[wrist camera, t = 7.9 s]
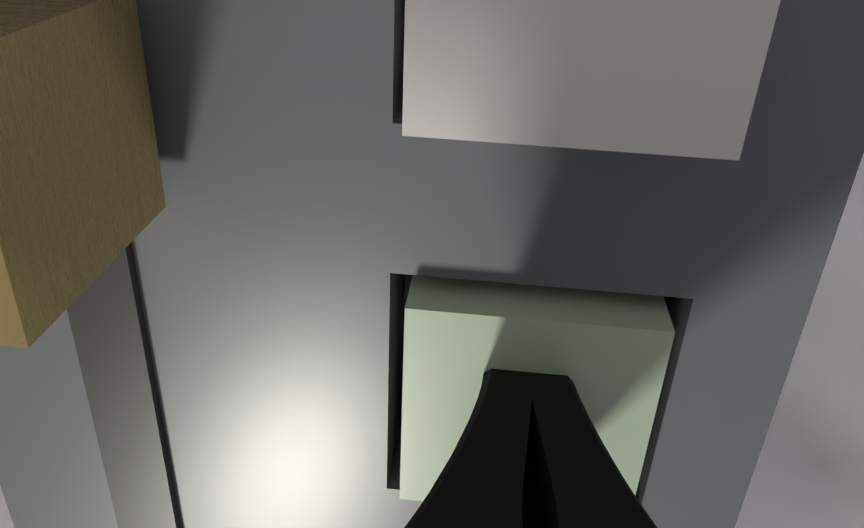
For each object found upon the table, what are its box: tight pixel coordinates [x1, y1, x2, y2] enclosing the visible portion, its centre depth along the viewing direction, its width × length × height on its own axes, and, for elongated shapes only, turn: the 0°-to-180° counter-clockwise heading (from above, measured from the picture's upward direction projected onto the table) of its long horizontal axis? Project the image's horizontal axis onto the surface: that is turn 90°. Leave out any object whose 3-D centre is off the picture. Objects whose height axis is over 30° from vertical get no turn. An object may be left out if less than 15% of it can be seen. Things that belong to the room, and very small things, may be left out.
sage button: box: [399, 275, 675, 501], centre depth 13 cm, size 4×4×2 cm
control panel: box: [0, 0, 864, 528], centre depth 14 cm, size 14×24×3 cm, turn 178°
